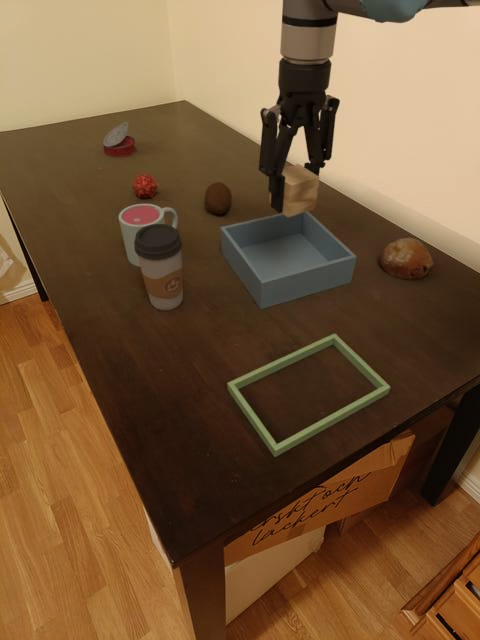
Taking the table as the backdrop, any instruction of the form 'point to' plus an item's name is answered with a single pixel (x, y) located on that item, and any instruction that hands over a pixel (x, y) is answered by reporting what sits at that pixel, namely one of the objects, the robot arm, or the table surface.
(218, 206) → the potato
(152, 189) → the red bumpy ball
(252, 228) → the bin
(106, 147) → the canned food
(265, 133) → the robot arm
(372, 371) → the frame
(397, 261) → the bread roll
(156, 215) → the mug
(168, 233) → the coffee cup
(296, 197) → the block
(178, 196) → the table surface
